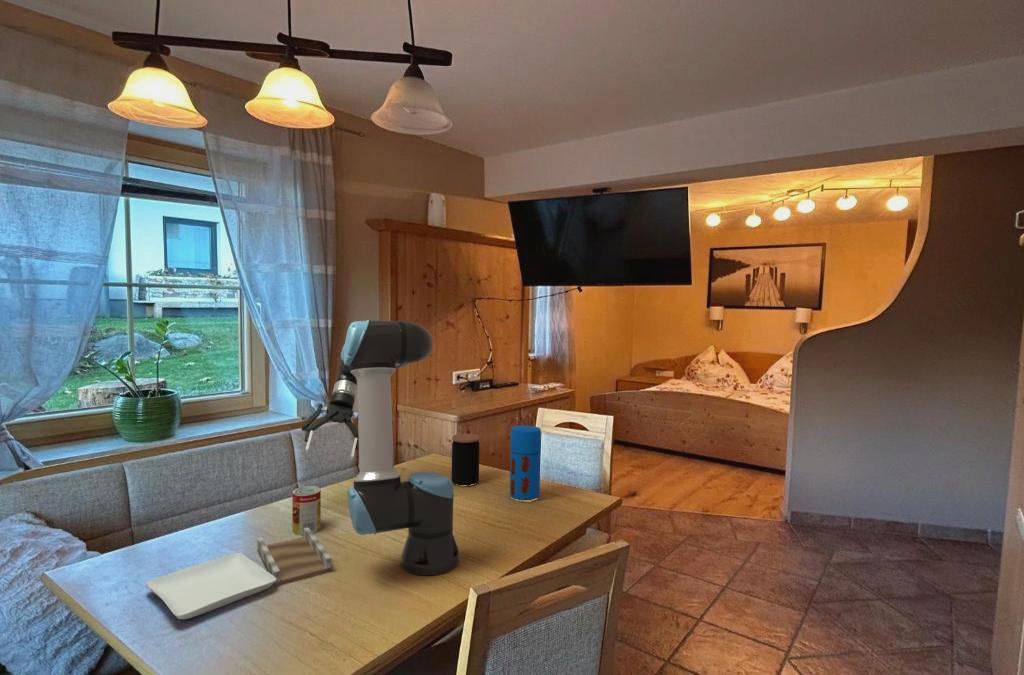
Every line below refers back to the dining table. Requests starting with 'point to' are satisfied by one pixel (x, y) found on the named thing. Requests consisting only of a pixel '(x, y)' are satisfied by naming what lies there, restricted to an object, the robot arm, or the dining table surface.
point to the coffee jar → (465, 459)
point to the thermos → (525, 462)
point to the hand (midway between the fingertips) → (329, 455)
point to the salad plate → (210, 585)
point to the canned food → (306, 509)
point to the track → (294, 558)
